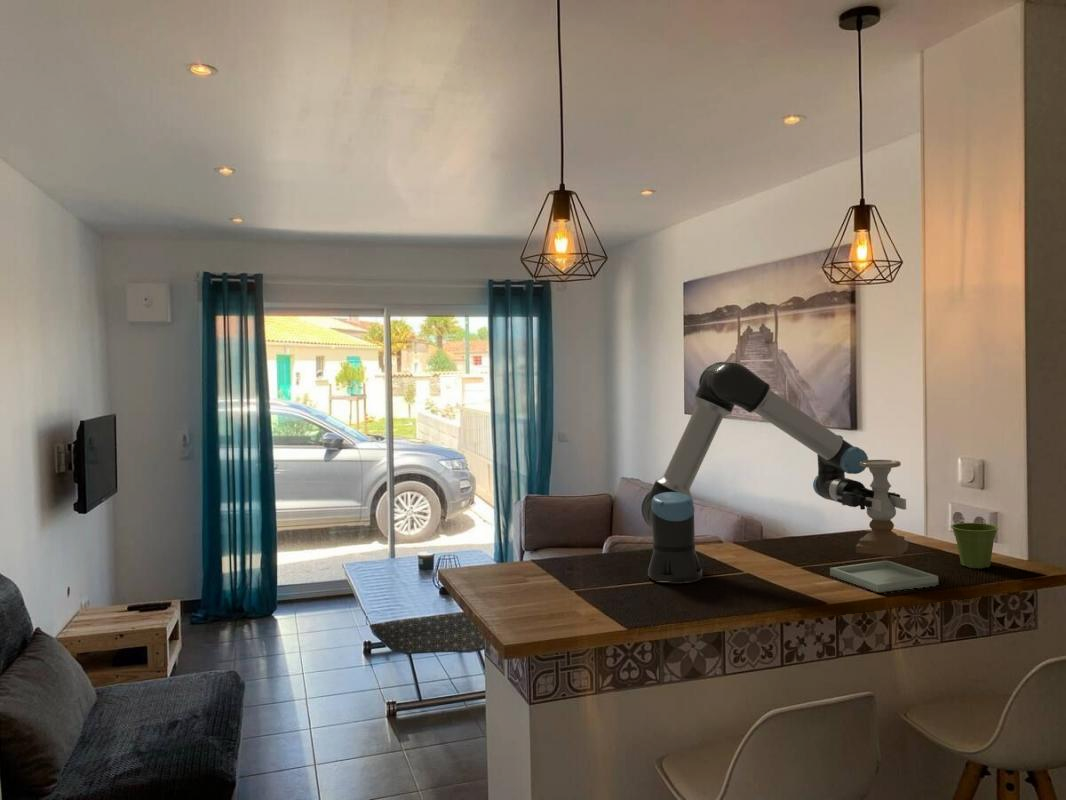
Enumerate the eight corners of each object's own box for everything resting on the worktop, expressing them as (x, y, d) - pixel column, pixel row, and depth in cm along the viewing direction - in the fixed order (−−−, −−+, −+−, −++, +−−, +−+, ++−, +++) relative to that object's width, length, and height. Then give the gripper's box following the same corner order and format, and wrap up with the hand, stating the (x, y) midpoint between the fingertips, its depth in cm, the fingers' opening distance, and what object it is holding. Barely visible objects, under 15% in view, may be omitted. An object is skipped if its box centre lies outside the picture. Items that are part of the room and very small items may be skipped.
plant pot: (987, 560, 240) (986, 521, 240) (1006, 570, 228) (1006, 530, 228) (944, 561, 241) (944, 522, 241) (961, 571, 229) (961, 531, 229)
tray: (877, 594, 211) (877, 584, 211) (830, 576, 229) (829, 567, 229) (938, 585, 217) (938, 576, 217) (887, 569, 235) (887, 560, 235)
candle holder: (898, 557, 215) (896, 465, 214) (855, 552, 222) (852, 463, 221) (909, 548, 224) (907, 460, 223) (866, 544, 230) (864, 458, 229)
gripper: (879, 502, 241) (927, 517, 218) (817, 507, 239) (858, 522, 216) (879, 477, 241) (926, 488, 218) (816, 481, 239) (857, 493, 216)
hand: (892, 505), depth 217 cm, fingers closed on candle holder, 6 cm apart
